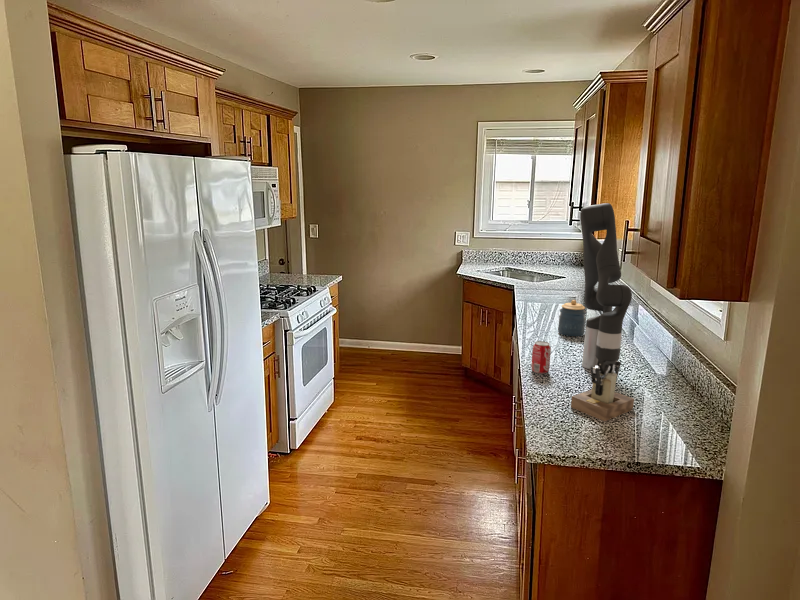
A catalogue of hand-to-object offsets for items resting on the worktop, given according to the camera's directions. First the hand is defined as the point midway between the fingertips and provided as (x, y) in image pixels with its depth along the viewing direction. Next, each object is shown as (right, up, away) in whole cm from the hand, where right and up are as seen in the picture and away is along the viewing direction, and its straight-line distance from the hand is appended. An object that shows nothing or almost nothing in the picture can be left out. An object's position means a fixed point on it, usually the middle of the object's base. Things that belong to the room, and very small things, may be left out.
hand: (603, 392), depth 179 cm
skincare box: (0, -5, +1) cm, 5 cm away
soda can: (-12, +2, +36) cm, 38 cm away
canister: (+19, +14, +92) cm, 95 cm away
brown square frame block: (0, -5, +1) cm, 6 cm away
